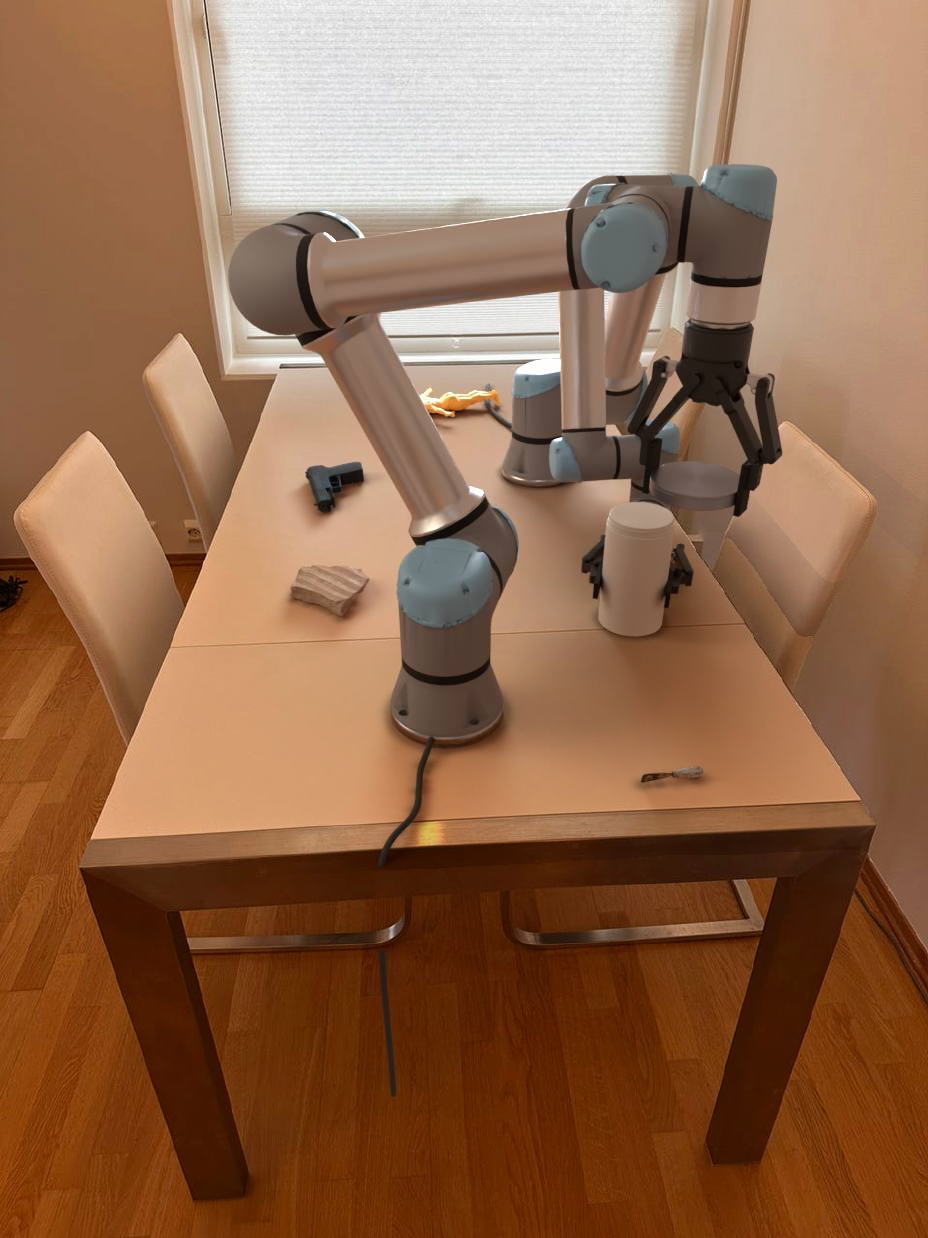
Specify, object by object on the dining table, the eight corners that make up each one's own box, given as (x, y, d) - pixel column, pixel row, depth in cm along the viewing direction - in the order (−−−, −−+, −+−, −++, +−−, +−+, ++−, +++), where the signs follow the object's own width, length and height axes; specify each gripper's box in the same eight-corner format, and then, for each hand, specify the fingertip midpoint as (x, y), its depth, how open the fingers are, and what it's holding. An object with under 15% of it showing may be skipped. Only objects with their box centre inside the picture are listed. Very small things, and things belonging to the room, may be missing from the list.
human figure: (395, 413, 223) (394, 398, 221) (438, 390, 237) (438, 375, 235) (462, 429, 215) (462, 413, 213) (502, 404, 229) (503, 388, 227)
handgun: (375, 507, 177) (315, 514, 174) (360, 472, 191) (304, 479, 188) (374, 492, 175) (313, 499, 172) (359, 458, 189) (302, 465, 187)
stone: (378, 583, 151) (377, 570, 149) (343, 618, 141) (342, 604, 140) (312, 570, 155) (310, 557, 154) (274, 603, 146) (272, 589, 144)
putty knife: (703, 777, 109) (705, 767, 109) (642, 788, 108) (644, 777, 107) (700, 772, 110) (702, 762, 109) (639, 782, 109) (640, 771, 108)
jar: (671, 614, 142) (686, 510, 133) (647, 643, 135) (660, 535, 125) (614, 597, 147) (624, 495, 137) (587, 624, 140) (596, 519, 130)
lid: (670, 467, 117) (671, 454, 116) (754, 486, 112) (756, 473, 111) (634, 496, 109) (635, 483, 108) (722, 518, 104) (725, 505, 103)
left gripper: (837, 328, 96) (797, 513, 108) (637, 300, 108) (621, 470, 119) (817, 343, 91) (777, 536, 103) (609, 312, 102) (594, 489, 114)
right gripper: (709, 558, 151) (704, 627, 133) (577, 543, 156) (555, 607, 138) (716, 518, 148) (712, 583, 129) (580, 504, 153) (558, 564, 134)
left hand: (693, 501), depth 111 cm, fingers closed on lid, 11 cm apart
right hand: (631, 595), depth 134 cm, fingers closed on jar, 10 cm apart
